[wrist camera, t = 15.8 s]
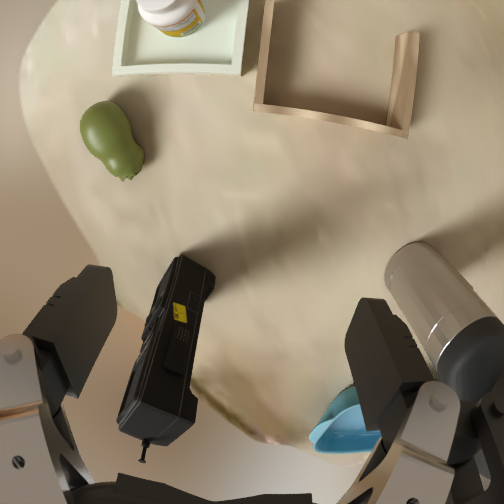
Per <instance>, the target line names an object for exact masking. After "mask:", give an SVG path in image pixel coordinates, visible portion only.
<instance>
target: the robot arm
mask: <svg viewBox="0 0 504 504" xmlns="http://www.w3.org/2000/svg"><path fill="white" fill-rule="evenodd" d="M385 283H386V286H387V288H388V290H389V291H390V293H391V294H392V296H393V298H394V299H395V301H396V302H397V304H398V306H399V307H400V309H401V311H402V312H403V314H404V316H405V317H406V319H407V321H408V322H409V324H410V326H411V327H412V329H413V331H414V332H415V334H416V336H417V337H418V339H419V341H420V343H421V344H422V346H423V348H424V350H425V351H426V353H427V355H428V357H429V358H430V360H431V362H432V364H433V366H434V367H435V369H436V371H437V373H438V375H439V377H440V379H441V381H442V382H439V381H434V379H433V376H432V374H431V372H430V370H429V368H428V366H427V364H426V362H425V360H424V358H423V356H422V354H421V352H420V350H419V348H417V344H416V342H415V340H414V339H412V337H413V336H412V334H411V332H410V330H409V329H408V327H407V325H406V324H405V323H404V322H403V321H402V320H401V319H400V318H399V317H398V316H397V315H393V314H392V312H391V310H390V308H389V306H388V304H387V302H386V301H385V300H384V299H375V298H361V299H360V301H359V303H358V305H357V308H356V310H355V313H354V315H353V318H352V320H351V323H350V325H349V328H348V330H347V333H346V337H345V352H346V355H347V359H348V362H349V366H350V370H351V373H352V377H353V381H354V384H355V388H356V392H357V396H358V399H359V403H360V407H361V411H362V415H363V419H364V423H365V427H366V431H375V430H380V433H381V437H380V438H379V439H378V441H377V443H376V444H375V446H374V448H373V450H372V452H371V454H370V455H369V457H368V459H367V461H366V463H365V464H364V466H363V468H362V470H361V471H360V473H359V475H358V477H357V478H356V480H355V481H354V483H353V484H352V486H351V487H350V488H349V490H348V491H347V492H346V493H345V494H344V495H343V497H342V498H341V499H340V500H339V501H338V502H337V504H504V325H503V323H502V322H501V321H500V320H499V319H498V317H497V316H496V315H495V314H494V313H493V312H492V310H491V309H490V308H489V307H488V306H487V305H486V303H485V302H484V301H483V300H482V299H481V298H480V297H479V296H478V295H477V293H476V292H475V291H474V290H473V287H472V286H471V285H470V284H469V283H468V282H467V280H466V279H465V278H464V277H463V276H462V275H461V274H460V273H459V272H458V271H457V270H456V269H455V268H454V267H453V266H452V265H451V264H450V263H449V262H448V261H447V260H446V259H445V258H444V257H443V256H442V255H441V254H438V253H437V252H436V251H435V250H434V249H433V248H432V247H431V246H430V245H428V244H426V243H421V242H416V243H412V244H408V245H406V246H405V247H403V248H401V249H400V250H399V251H398V252H397V253H396V254H395V255H394V256H393V257H392V258H391V260H390V262H389V263H388V266H387V268H386V272H385ZM116 317H117V302H116V296H115V289H114V282H113V274H112V271H111V269H110V268H109V267H103V266H95V265H90V264H89V265H87V266H86V267H85V268H84V270H83V271H82V272H81V273H80V274H79V275H78V277H77V278H75V277H73V278H71V279H70V280H68V281H66V282H65V283H63V284H61V285H60V287H59V288H58V289H57V290H56V291H55V293H54V294H53V297H50V299H49V300H48V301H47V302H46V305H44V306H43V307H42V309H41V310H40V311H39V312H38V314H37V315H36V316H35V318H34V319H33V320H32V322H31V323H30V324H29V325H28V327H27V328H26V330H25V331H24V332H23V334H12V335H8V336H5V337H3V338H2V339H0V504H316V503H312V494H311V493H306V494H263V495H257V496H252V497H247V498H240V499H234V500H226V501H217V502H214V501H208V500H205V499H203V498H200V497H197V496H195V495H192V494H189V493H187V492H184V491H181V490H179V489H176V488H174V487H172V486H169V485H167V484H164V483H160V482H155V481H150V480H146V479H142V478H137V477H133V476H129V475H126V474H122V473H118V477H117V481H116V482H100V483H94V481H93V479H92V477H91V475H90V473H89V471H88V469H87V467H86V466H85V464H84V462H83V461H82V458H81V457H80V454H79V451H78V449H77V446H76V443H75V440H74V438H73V435H72V432H71V429H70V425H69V422H68V419H67V416H66V412H65V410H64V406H63V404H62V401H63V398H64V396H65V395H68V396H71V397H74V398H77V399H78V398H79V395H80V393H81V391H82V389H83V387H84V385H85V382H86V380H87V378H88V376H89V374H90V372H91V370H92V367H93V366H94V363H95V361H96V359H97V357H98V355H99V353H100V351H101V349H102V347H103V345H104V343H105V341H106V339H107V337H108V336H109V334H110V332H111V330H112V328H113V326H114V324H115V321H116ZM479 473H480V474H481V475H482V476H484V477H486V478H488V479H491V482H490V485H489V487H488V489H487V490H486V491H485V492H484V490H483V486H482V482H481V479H480V475H479Z"/></svg>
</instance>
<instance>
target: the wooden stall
mask: <svg viewBox="0 0 504 504" xmlns="http://www.w3.org/2000/svg"><path fill="white" fill-rule="evenodd" d="M273 8H274V0H266V1H265V6H264V14H263V23H262V32H261V41H260V50H259V59H258V68H257V77H256V86H255V96H254V105H253V111H256V112H266V113H274V114H283V115H290V116H298V117H305V118H311V119H317V120H323V121H329V122H335V123H340V124H345V125H350V126H355V127H360V128H365V129H369V130H374V131H378V132H382V133H387V134H391V135H395V136H398V137H402V138H406V139H408V134H409V128H410V122H411V115H412V108H413V101H414V93H415V84H416V75H417V64H418V52H419V36H420V33H419V32H416V31H414V30H413V31H410V32H407V33H404V34H401V35H398V36H396V44H395V56H394V67H393V76H392V85H391V93H390V101H389V108H388V115H387V122H386V126H384V125H380V124H376V123H372V122H368V121H363V120H359V119H354V118H349V117H344V116H339V115H334V114H328V113H322V112H317V111H310V110H304V109H297V108H290V107H282V106H274V105H265V104H263V99H264V90H265V80H266V71H267V62H268V53H269V44H270V35H271V26H272V17H273Z"/></svg>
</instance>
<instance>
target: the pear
mask: <svg viewBox="0 0 504 504" xmlns="http://www.w3.org/2000/svg"><path fill="white" fill-rule="evenodd" d="M80 132H81V136H82V139H83V141H84V143H85V145H86V147H87V149H88V150H89V151H90V152H91V154H93V155H94V156H95V157H97V158H98V159H100V160H101V161H102V162H103V163H104V165H105V167H106V168H107V170H108V171H109V172H110V173H111V174H112V175H114V176H116V177H119V178H120V179H121V181H124V180H125V178H128V179H130V180H132V178H133V177H134V176H135V175H137V174H138V173H139V172H140V171H141V170H142V164H143V163H144V151H143V149H142V148H141V147H140V146H139V145H137V144H136V143H135V141H134V140H133V138H132V134H131V127H130V124H129V121H128V119H127V117H126V115H125V113H124V112H123V110H122V109H121V108H120V107H119V106H118V105H117V104H115V103H113V102H110V101H103V102H99V103H96V104H94V105H93V106H91V107H90V108H89V109H88V110H87V111H86V112H85V113H84V114H83V116H82V118H81V121H80Z"/></svg>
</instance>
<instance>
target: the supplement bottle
mask: <svg viewBox="0 0 504 504" xmlns="http://www.w3.org/2000/svg"><path fill="white" fill-rule="evenodd" d="M136 1H137V3H138V10H139V13H140V15H141V17H142V18H143V19H144V20H145V21H147V22H148V23H150V24H151V25H152V26H154V27H155V28H157V29H158V30H159V31H161V32H162V33H164V34H165V35H167V36H170V37H174V38H181V37H186V36H189V35H191V34H193V33H194V32H196V31H197V30H198V29H199V28H200V27H201V26H202V24H203V22H204V20H205V9H204V6H203V4H202V2H201V1H200V0H136Z"/></svg>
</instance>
